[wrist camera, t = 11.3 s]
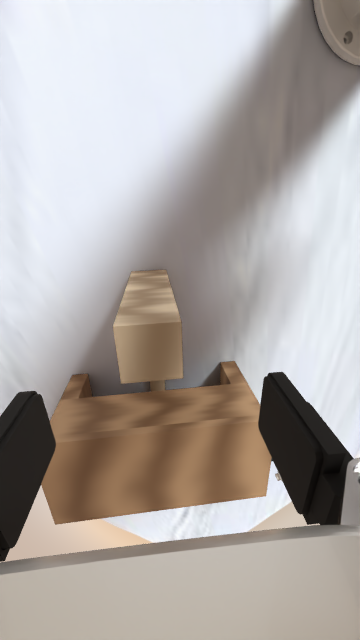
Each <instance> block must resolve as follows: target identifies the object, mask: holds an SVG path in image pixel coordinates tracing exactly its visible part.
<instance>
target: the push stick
mask: <svg viewBox="0 0 360 640" xmlns="http://www.w3.org/2000/svg"><path fill="white" fill-rule="evenodd" d="M113 331H114V338H115V345H116V352H117V359H118V366H119V373H120V380H121V384H125V383H137V382H148V381H150V389H151V392H152V391H163V390H165V380H170V379H181V378H183V354H182V322H181V318H180V315H179V312H178V308H177V305H176V302H175V298H174V295H173V291H172V288H171V285H170V281H169V278H168V275H167V271H166V270H150V271H132V272H131V274H130V277H129V280H128V283H127V286H126V289H125V292H124V295H123V298H122V301H121V304H120V307H119V310H118V313H117V316H116V319H115V322H114V324H113Z"/></svg>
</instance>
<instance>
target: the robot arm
mask: <svg viewBox="0 0 360 640" xmlns="http://www.w3.org/2000/svg"><path fill="white" fill-rule="evenodd" d="M314 9H315V14H316V17H317V21H318V25H319V28H320V30H321V32H322V34H323V37H324V39H325V41H326V42H327V44H328V45H329V46H330V48H331V49H332V50H333V52H335V53H336V54H337V55H338V56H339V57H340V58H342V59H343V60H345V61H347V62H349V63H351V64H353V65H360V0H314ZM258 427H259V431H260V433H261V436H262V438H263V440H264V442H265V444H266V446H267V449H268V451H269V453H270V455H271V457H272V459H273V461H274V464H275V466H276V468H277V470H278V472H279V474H280V476H281V479H282V481H283V483H284V485H285V487H286V489H287V492H288V494H289V496H290V498H291V500H292V502H293V504H294V507H295V509H296V510H297V512H298V513H299V514H303V516H304V518H305V520H306V522H307V524H308V525H309V524H316V523H319V524H320V525H314V526H304V527H293V528H282V529H271V530H262V531H253V532H244V533H236V534H227V535H218V536H209V537H200V538H192V539H184V540H175V541H167V542H158V543H150V544H142V545H134V546H125V547H117V548H109V549H101V550H93V551H85V552H77V553H69V554H61V555H53V556H45V557H38V558H30V559H22V560H16V561H9V562H1V563H0V640H360V458H355V459H354V458H353V457H352V456H351V455H350V453H349V452H348V451H347V450H346V448H345V447H344V446H343V445H342V443H341V442H340V441H339V439H338V438H337V437H336V436H335V434H334V433H333V432H332V431H331V429H330V428H329V427H328V426H327V424H326V423H325V422H324V421H323V419H322V418H321V417H320V415H319V414H318V413H317V412H316V410H315V409H314V408H313V407H312V405H311V404H310V403H308V402H306V401H305V399H304V398H303V397H302V396H301V394H300V393H299V392H298V390H297V389H296V388H295V387H294V385H293V384H292V383H291V381H290V380H289V379H288V378H287V376H286V375H285V374H284V373H283V372H274V373H269V374H268V376H267V377H264V381H263V389H262V397H261V405H260V412H259V420H258ZM55 448H56V440H55V437H54V434H53V431H52V428H51V424H50V421H49V418H48V415H47V412H46V408H45V405H44V402H43V399H42V396H41V395H40V394H37V392H36V391H27V392H19V393H18V394H17V395H16V396H15V397H14V399H13V400H12V401H11V403H10V404H9V405H8V407H7V408H6V409H5V411H4V412H3V414H2V415H1V416H0V561H5V559H6V557H7V554H8V552H9V549H10V548H13V547H14V546H15V545H16V543H17V541H18V538H19V536H20V534H21V531H22V529H23V526H24V524H25V522H26V519H27V517H28V514H29V512H30V510H31V507H32V504H33V502H34V500H35V497H36V495H37V492H38V490H39V488H40V486H41V483H42V481H43V478H44V476H45V473H46V471H47V469H48V466H49V464H50V461H51V459H52V457H53V454H54V452H55Z"/></svg>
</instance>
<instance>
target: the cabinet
mask: <svg viewBox="0 0 360 640" xmlns="http://www.w3.org/2000/svg"><path fill="white" fill-rule="evenodd" d="M259 412H260V404H259V402H258V401H257V399H256V397H255V395H254V394H253V392H252V390H251V389H250V387H249V385H248V383H247V382H246V380H245V378H244V377H243V375H242V373H241V371H240V370H239V368H238V366H237V364H236V363H235V361H230V362H221V364H220V385H216V386H205V387H195V388H184V389H173V390H163V391H152V392H141V393H130V394H120V395H109V396H98V397H93V396H92V391H91V386H90V381H89V376H88V374H78V375H72V377H71V379H70V381H69V383H68V385H67V387H66V389H65V391H64V393H63V395H62V397H61V399H60V401H59V403H58V406H57V408H56V410H55V412H54V414H53V416H52V418H51V420H50V424H51V428H52V431H53V434H54V437H55V440H56V448H55V452H54V454H53V457H52V459H51V461H50V464H49V466H48V469H47V471H46V473H45V476H44V478H43V481H42V483H41V485H42V488H43V491H44V494H45V497H46V499H47V502H48V505H49V508H50V510H51V514H52V516H53V519H54V522H55V524H63V523H70V522H78V521H85V520H92V519H100V518H107V517H115V516H122V515H129V514H137V513H144V512H152V511H159V510H166V509H174V508H181V507H189V506H196V505H204V504H211V503H218V502H226V501H233V500H241V499H248V498H255V497H263V496H266V492H267V485H268V478H269V471H270V465H271V458H272V457H271V455H270V453H269V451H268V449H267V446H266V444H265V442H264V440H263V438H262V436H261V433H260V431H259V427H258V420H259Z"/></svg>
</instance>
